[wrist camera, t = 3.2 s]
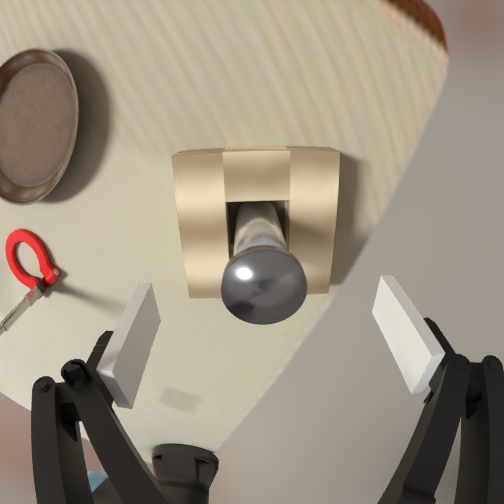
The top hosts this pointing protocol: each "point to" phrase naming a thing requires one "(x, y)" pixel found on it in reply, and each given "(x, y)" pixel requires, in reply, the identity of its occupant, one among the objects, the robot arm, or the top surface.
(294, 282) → the steel pin
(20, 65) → the plant saucer
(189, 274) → the oak hitch block
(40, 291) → the tow hook
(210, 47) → the top surface
